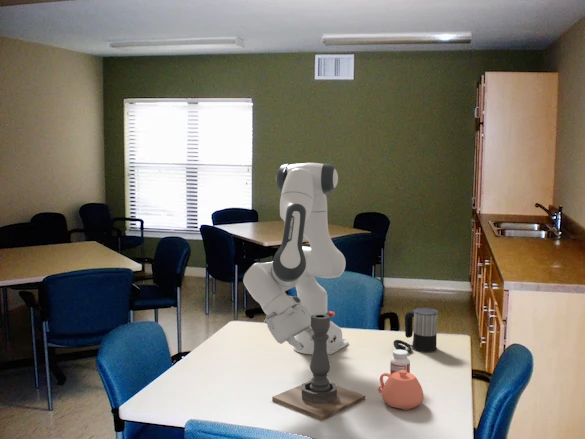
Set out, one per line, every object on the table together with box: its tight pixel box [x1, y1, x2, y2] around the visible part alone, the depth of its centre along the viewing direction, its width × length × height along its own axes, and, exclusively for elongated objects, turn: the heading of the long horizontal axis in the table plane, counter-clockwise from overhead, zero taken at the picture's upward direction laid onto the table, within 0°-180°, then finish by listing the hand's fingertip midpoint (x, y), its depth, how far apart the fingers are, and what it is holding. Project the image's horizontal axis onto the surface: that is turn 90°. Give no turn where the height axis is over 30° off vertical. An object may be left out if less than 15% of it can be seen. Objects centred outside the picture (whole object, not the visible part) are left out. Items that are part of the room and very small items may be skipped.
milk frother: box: [392, 307, 439, 354], centre depth 233 cm, size 14×16×15 cm
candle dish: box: [271, 380, 366, 421], centre depth 188 cm, size 20×20×4 cm
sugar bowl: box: [377, 370, 424, 411], centre depth 185 cm, size 12×14×10 cm
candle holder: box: [309, 314, 331, 392], centre depth 186 cm, size 6×6×25 cm
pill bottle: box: [389, 349, 411, 375], centre depth 200 cm, size 6×6×11 cm
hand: (308, 344), depth 188 cm, fingers open, 8 cm apart
